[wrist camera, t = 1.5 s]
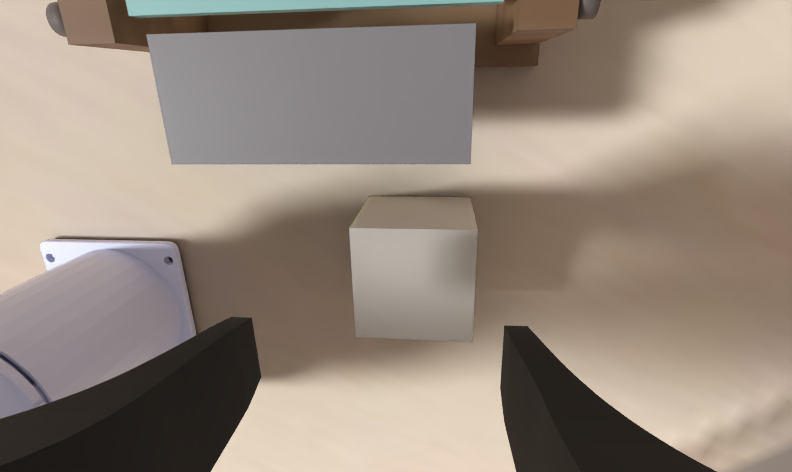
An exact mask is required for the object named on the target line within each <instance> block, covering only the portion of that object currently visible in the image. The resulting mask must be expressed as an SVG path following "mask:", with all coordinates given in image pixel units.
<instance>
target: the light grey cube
mask: <svg viewBox="0 0 792 472" xmlns="http://www.w3.org/2000/svg"><path fill="white" fill-rule="evenodd" d="M349 235H350V252H351V269H352V287H353V304H354V321H355V337H358V338H382V339H406V340H430V341H454V342H473V321H474V301H475V281H476V260H477V240H478V228H477V224H476V219H475V215H474V211H473V207H472V202H471V198H470V197H404V196H369V197H368V199H367V200H366V202H365V203H364V205H363V207H362V208H361V210H360V211H359V213H358V215H357V216H356V218H355V219H354V221H353V223H352V224H351V226H350V227H349Z"/></svg>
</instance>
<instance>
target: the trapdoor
mask: <svg viewBox="0 0 792 472" xmlns="http://www.w3.org/2000/svg"><path fill="white" fill-rule="evenodd" d="M503 2H504V0H126V5H127V10H128V15H129V16H132V17H137V18H153V17H179V16H205V15H231V14H258V13H284V12H310V11H336V10H362V9H389V8H415V7H441V6H467V5H494V4H502V3H503ZM146 36H147V41H148V46H149V51H150V56H151V61H152V66H153V71H154V76H155V81H156V87H157V92H158V97H159V102H160V107H161V112H162V117H163V122H164V127H165V132H166V137H167V143H168V148H169V153H170V158H171V163H172V164H471V140H472V115H473V89H474V64H475V39H476V23H470V24H441V25H411V26H382V27H352V28H322V29H293V30H263V31H234V32H204V33H175V34H146Z"/></svg>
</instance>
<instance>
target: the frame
mask: <svg viewBox="0 0 792 472" xmlns="http://www.w3.org/2000/svg"><path fill="white" fill-rule="evenodd" d="M57 1H58V2H53V3H50V4H49V5H48V6H47V9H46V16H47V20H48V22H49V24H50V26H51V28H52V29H53V30H54V31H55V32H56V33H57V34H59V35H61V36H64V37H67V40H68V44H69V45H78V46H89V47H100V48H111V49H121V50H132V51H143V52H150V51H149V46H148V41H147V36H146V34H175V33H204V32H234V31H263V30H293V29H322V28H352V27H382V26H411V25H441V24H470V23H476V39H475V64H474V67H508V66H536V65H538V54H539V43H540V42H542V41H545V40H547V39H550V38H553V37H555V36H558V35H560V34H563V33H566V32H568V31H571V30H573V29H576V26H577V19H593V18H594V17H595V16H596V14H597V12H598V9H599V6H600V1H601V0H504V2H503V3H502V4H494V5H467V6H441V7H415V8H389V9H362V10H336V11H310V12H284V13H258V14H231V15H205V16H179V17H153V18H137V17H132V16H129V15H128V10H127V5H126V0H57Z"/></svg>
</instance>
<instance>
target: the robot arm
mask: <svg viewBox="0 0 792 472" xmlns="http://www.w3.org/2000/svg"><path fill="white" fill-rule="evenodd" d="M40 250H41V253H42V256H43V259H44V262H45V266H46V269H47V271H46V272H44V273H42V274H40V275H38V276H36V277H34V278H32V279H30V280H28V281H26V282H23V283H21V284H19V285H17V286H15V287H13V288H11V289H9V290H7V291H5V292H3V293H1V294H0V472H211V470H212V468H213V467H214V465H215V463H216V462H217V460H218V458H219V457H220V455H221V453H222V452H223V450H224V448H225V447H226V445H227V443H228V442H229V440H230V438H231V436H232V435H233V433H234V431H235V430H236V428H237V426H238V425H239V423H240V421H241V419H242V418H243V416H244V414H245V412H246V411H247V409H248V407H249V405H250V402H251V400H252V398H253V396H254V393H255V391H256V388H257V386H258V383H259V381H260V378H261V373H260V367H259V361H258V355H257V348H256V342H255V336H254V330H253V324H252V318H239V317H231V318H229V319H226V320H224V321H222V322H220V323H218V324H216V325H214V326H212V327H210V328H208V329H207V330H205V331H203V332H201V333H199V334H197V335H196V330H195V325H194V320H193V315H192V310H191V305H190V301H189V296H188V291H187V286H186V281H185V276H184V271H183V266H182V261H181V257H180V252H179V248H178V246H177V245H176V244H175V243H173V242H170V241H133V240H81V239H48V240H45V241H43V242H42V243H41V244H40ZM52 255H53V256H54V257H53V256H52ZM168 256H169V257H171V258H172V259H173V262H171V261H170V260H169V258H168ZM500 389H501V397H502V406H503V414H504V422H505V426H506V431H507V435H508V439H509V443H510V447H511V451H512V456H513V460H514V464H515V468H516V472H716V471H714V470H712V469H711V468H709V467H707V466H705V465H703V464H701V463H699V462H697V461H696V460H694V459H692V458H690V457H688V456H687V455H685V454H683V453H681V452H680V451H678V450H676V449H674V448H673V447H671V446H669V445H668V444H666V443H665V442H663V441H662V440H660V439H658V438H657V437H655V436H654V435H652V434H650V433H649V432H647V431H646V430H644V429H643V428H641V427H640V426H638V425H637V424H635V423H634V422H632V421H631V420H629V419H628V418H627V417H625V416H624V415H623V414H621V413H620V412H619V411H617V410H616V409H614V408H613V407H612V406H610V405H609V404H608V403H606V402H605V401H604V400H603V399H601V398H600V397H599V396H598V395H597V394H595V393H594V392H593V391H592V390H591V389H590V388H588V387H587V386H586V385H585V384H584V383H583V382H582V381H580V380H579V379H578V378H577V377H576V376H575V375H574V374H573V373H572V372H571V371H570V370H569V369H568V368H567V367H566V366H565V365H563V364H562V363H561V362H560V361H559V360H558V358H557V357H556V356H555V355H554V354H553V353H552V352H551V351H550V350H549V349H548V348H547V347H546V346H545V345H544V344H543V343H542V341H541V340H540V339H539V338H538V337H537V336H536V335H535V334H534V333H533V332H532V331H531V330H530V329H529V328H528V326H504V340H503V355H502V371H501V386H500Z"/></svg>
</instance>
